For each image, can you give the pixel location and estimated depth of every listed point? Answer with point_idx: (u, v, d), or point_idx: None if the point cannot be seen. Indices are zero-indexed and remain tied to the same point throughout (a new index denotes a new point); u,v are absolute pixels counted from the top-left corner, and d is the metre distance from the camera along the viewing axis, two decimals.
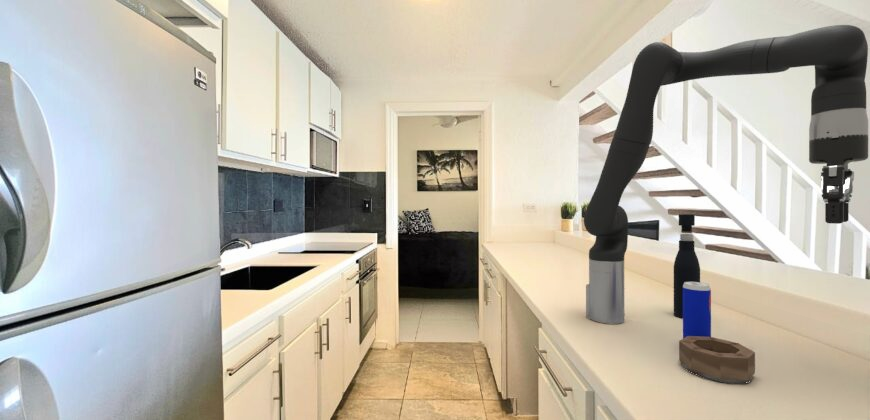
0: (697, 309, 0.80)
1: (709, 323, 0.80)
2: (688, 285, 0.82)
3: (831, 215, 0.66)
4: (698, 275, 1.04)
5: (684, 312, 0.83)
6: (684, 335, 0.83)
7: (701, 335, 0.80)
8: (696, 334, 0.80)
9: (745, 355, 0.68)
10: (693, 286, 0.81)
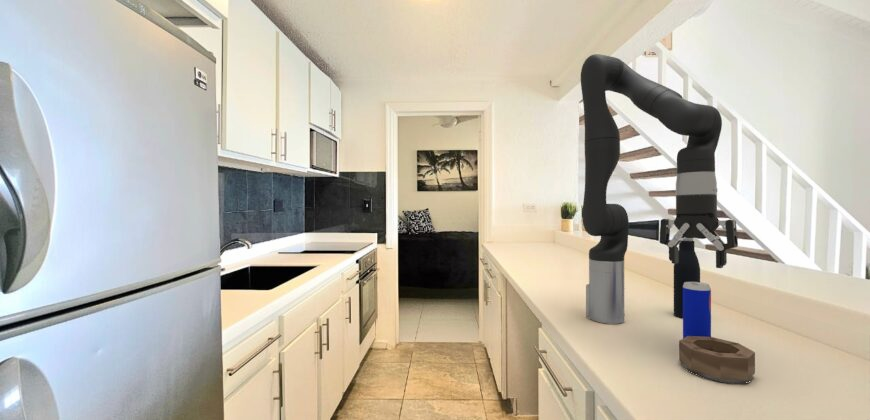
0: (697, 309, 0.80)
1: (709, 323, 0.80)
2: (688, 285, 0.82)
3: (724, 261, 0.78)
4: (698, 275, 1.04)
5: (684, 312, 0.83)
6: (684, 335, 0.83)
7: (701, 335, 0.80)
8: (696, 334, 0.80)
9: (745, 355, 0.68)
10: (693, 286, 0.81)
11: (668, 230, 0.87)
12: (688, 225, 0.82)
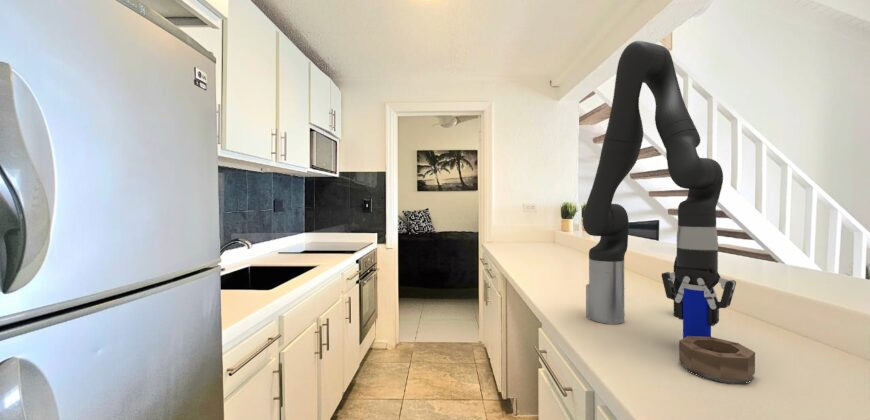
0: (697, 309, 0.80)
1: None
2: (688, 285, 0.82)
3: (716, 319, 0.79)
4: None
5: (684, 312, 0.83)
6: (684, 335, 0.83)
7: (701, 335, 0.80)
8: (696, 334, 0.80)
9: (745, 355, 0.68)
10: (693, 286, 0.81)
11: (672, 283, 0.87)
12: (688, 278, 0.82)
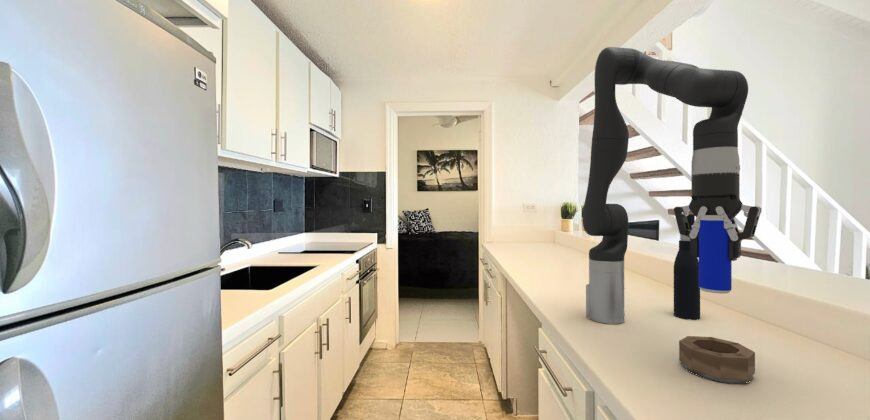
0: (716, 242, 0.70)
1: None
2: (705, 216, 0.71)
3: (738, 253, 0.69)
4: (698, 275, 1.04)
5: (700, 248, 0.72)
6: (700, 274, 0.72)
7: (721, 272, 0.70)
8: (715, 271, 0.70)
9: (745, 355, 0.68)
10: (711, 216, 0.71)
11: (685, 218, 0.76)
12: (705, 208, 0.72)
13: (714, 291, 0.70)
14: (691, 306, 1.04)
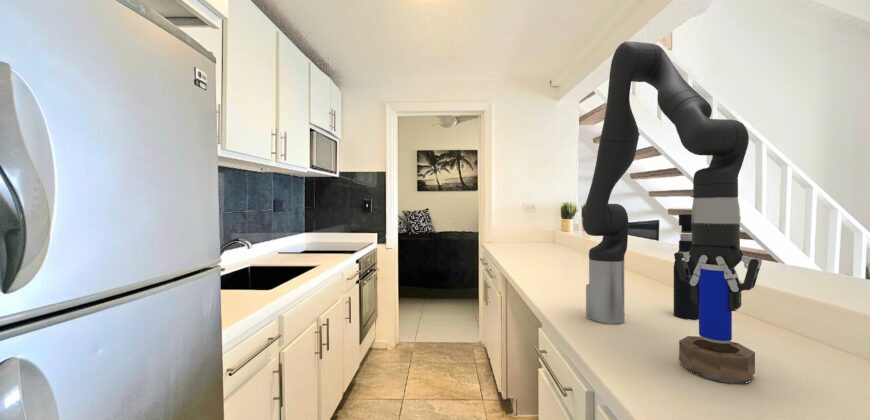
0: (716, 292, 0.70)
1: None
2: (705, 265, 0.71)
3: None
4: None
5: (701, 296, 0.72)
6: (701, 322, 0.72)
7: (721, 322, 0.70)
8: (715, 321, 0.70)
9: (745, 355, 0.68)
10: (711, 266, 0.71)
11: (686, 264, 0.76)
12: (706, 257, 0.72)
13: (714, 341, 0.70)
14: (691, 306, 1.04)
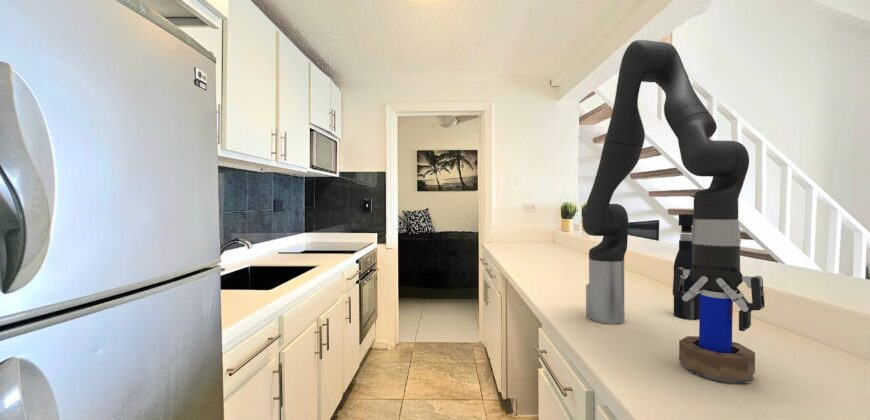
0: (717, 319, 0.70)
1: (730, 336, 0.70)
2: (707, 292, 0.71)
3: (748, 324, 0.68)
4: None
5: (701, 322, 0.72)
6: None
7: (721, 349, 0.70)
8: (715, 348, 0.70)
9: (745, 355, 0.68)
10: (713, 293, 0.71)
11: (682, 280, 0.77)
12: (706, 279, 0.72)
13: None
14: None
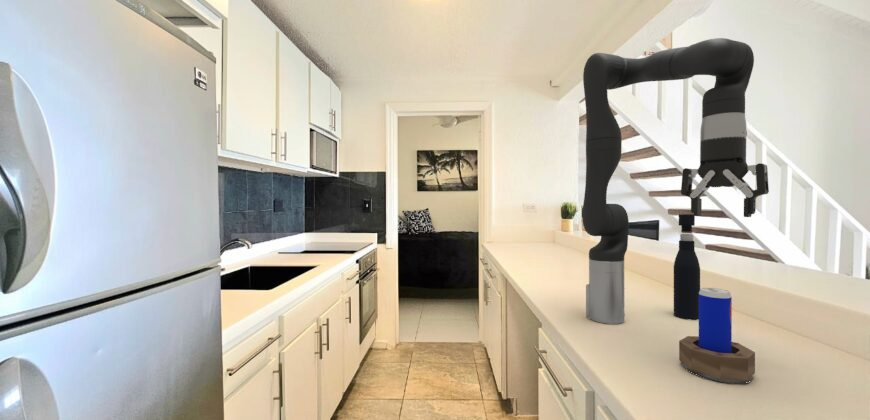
0: (716, 319, 0.70)
1: (730, 335, 0.70)
2: (705, 292, 0.72)
3: None
4: (698, 275, 1.04)
5: (700, 322, 0.73)
6: None
7: (721, 349, 0.70)
8: (715, 348, 0.70)
9: (745, 355, 0.68)
10: (711, 293, 0.71)
11: (691, 181, 0.81)
12: (713, 172, 0.76)
13: None
14: (691, 306, 1.04)
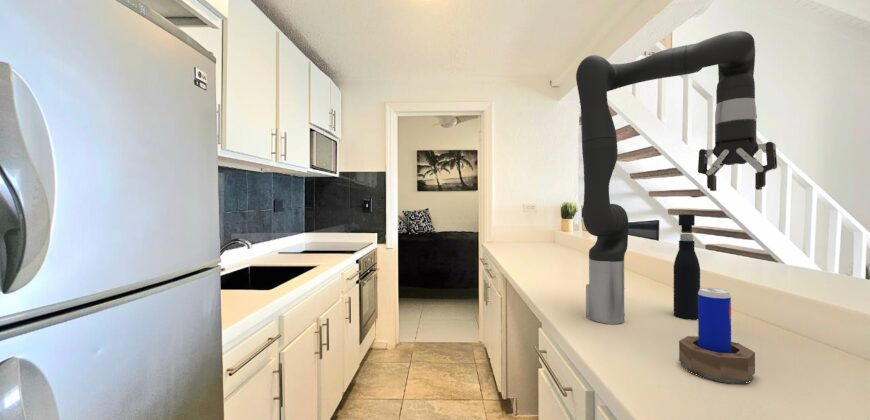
0: (715, 319, 0.70)
1: (729, 335, 0.70)
2: (705, 292, 0.72)
3: (763, 182, 0.82)
4: (698, 275, 1.04)
5: (700, 323, 0.73)
6: None
7: (721, 349, 0.70)
8: (715, 348, 0.70)
9: (745, 355, 0.68)
10: (711, 293, 0.71)
11: (706, 160, 0.91)
12: (728, 151, 0.86)
13: None
14: (691, 306, 1.04)
